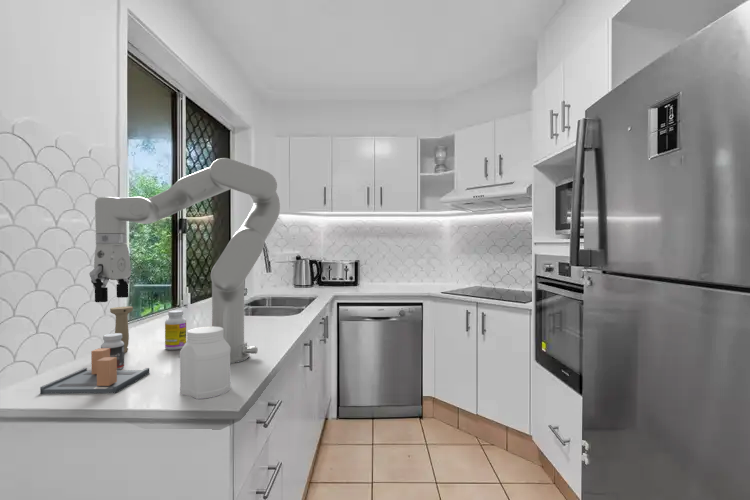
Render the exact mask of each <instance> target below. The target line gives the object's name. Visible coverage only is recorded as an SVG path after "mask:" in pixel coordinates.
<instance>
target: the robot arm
mask: <svg viewBox="0 0 750 500" xmlns="http://www.w3.org/2000/svg"><path fill="white" fill-rule="evenodd" d="M277 188H278V182H277V180H276V178H275V176H274V175H273V174H271V172H269V171H266V170H264V169H261V168H258V167H255V166H252V165H249V164H246V163H244V162H241V161H238V160H235V159H231V158H228V157H220V158H217V159H216V160H214V161H213V162H212V163H211V165H210V166H209V167H205V168H204V169H201V170H198V171H196V172H194V173H191V174H188V175H186V176H184V177H181V178H180V179H178V180H177V181H176V182H175V183H174V184H172V186H170V187H169V188H168V189H166V190H164V191H162V192H159V193H157V194H155V195H153V196H150V197H147V198H146V197H143V196H129V197H118V196H117V197H114V196H100V197H97V198H96V199H95V202H94V211H95V212H94V215H95V216H94V217H95V218H94V219H95V224H94V225H95V226H94V227H95V250H94V260H93V270H91V271H90V272H89V273H88V274H89V277H90V281H91V284H92V287H93V288H94V302H95V303H107V302H108V301H109V299H108V298H109V297H108V292H109V291H108V290H109V289H108V287H107V285H108V283H109V281H116V282H117V283H116V298H118V299H119V298H122V299H123V298H129V284H130V279H131V273H132V268H131V261H130V260H131V258H130V253H129V246H128V243H127V242H128V241H127V240H128V239H127V234H128V233H127V232H128V231H127V222H130V223H137V224H143V225H149V224H153V223H155V222H158V221H161V220H162V219H165V218H167V217H170V216H172V215H174V214H177V213H179V212H181V211H183V210H185V209H188V208H190V207H192V206H194V205H197V204H198V203H200V202H203V201H206V200H208V199H210V198H212V197H215V196H217V195H219V194H222V193H225V192H227V191H230V190H234V191H237V192H240V193H242V194H247V195H249V196H250V198H251V199H252V201H253V202H252V203H253V206H252V208H251V210H250V211H249V213H248V215H247V217H246V218H245V220H244V221H243V223H242V225H241V226H240V228H239V229H238V230H237V231H236V232H235V233H234V234H233V235H232V236H231V239H230V240H229V242H228V243H227V245H226V246H225V248H224V250H223V251H222V253H221V254H220V256H219V257H218V258H217V260H216V262H215V264H214V265H213V267H212V269H211V272H210V281H211V327H212V326H213V327H222V328H223V337H224V339H225V340H226V342H227V343H228V344H229V346H230V348H231V352H230V364H235V362H236V363H239V362H238V361H240V362H243V361H242V360H244V361H246V360H247V358H248V357H249V358H250V354H253V355H254V354H255V355H256V354H258V347H257V346H255V345H253V346H249V345H248V342H247V341H245V280H246V279H247V277H248V276H249V274H250V272H251V271H252V269H253V268H254V265H255V264H256V263H257V261H258V260H259V258H260V257H261V254H262V253H263V249H264V247H265V242H266V240H267V238H268V237H269V235H270V233H271V231H272V229H273V228H274V226H275V224H276V222H277V220H278V219H279V215H280V210H281V203H280V198H279V196H278V193H277ZM249 358H248V359H249ZM245 359H246V360H245Z"/></svg>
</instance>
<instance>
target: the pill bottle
mask: <svg viewBox="0 0 750 500" xmlns="http://www.w3.org/2000/svg"><path fill="white" fill-rule="evenodd" d="M121 339H122V334H121V333H115V332H114V333H107V334H104V335H103V336H102V340H103V342H102V343H101V345H100V348H110V357H117V370H123V368H124V367H125V353H124V342H123V341H121Z"/></svg>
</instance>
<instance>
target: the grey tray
mask: <svg viewBox="0 0 750 500" xmlns="http://www.w3.org/2000/svg"><path fill="white" fill-rule="evenodd" d="M87 369H88V368H86V367H84V368H81V369H79V370H77V371H74V372H72V373H69V374H67V375H65V376H63V377H60V378H58V379H56V380H54V381H51V382H49V383H47V384H44V385H42V386H40V387H39V390H40V391H39V392H40V394H41V395H44V394H45V395H46V394H49V395H51V394H58V395H59V394H61V395H62V394H117V393H119V392H121V391H122V390H123V389H125V388H128V387H129V386H131V385H132V384H134V383H135V382H138V381H139V380H141V379H143V378H144V377H146V376H148V375H150V368H149V367H145V368H144V369H131V370H130V369H119V370H117V382H115V383H113V384H112V385H110V386H97V374H92V369H91V370H87Z"/></svg>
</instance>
